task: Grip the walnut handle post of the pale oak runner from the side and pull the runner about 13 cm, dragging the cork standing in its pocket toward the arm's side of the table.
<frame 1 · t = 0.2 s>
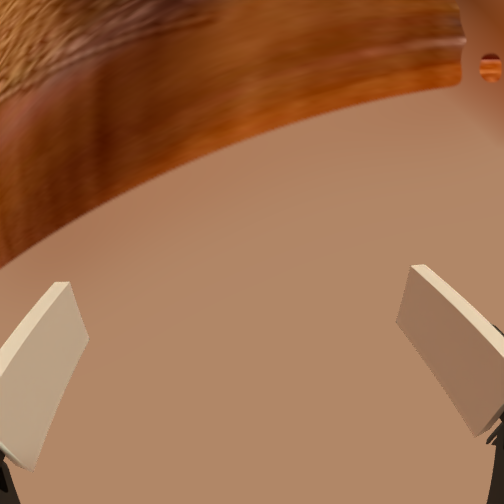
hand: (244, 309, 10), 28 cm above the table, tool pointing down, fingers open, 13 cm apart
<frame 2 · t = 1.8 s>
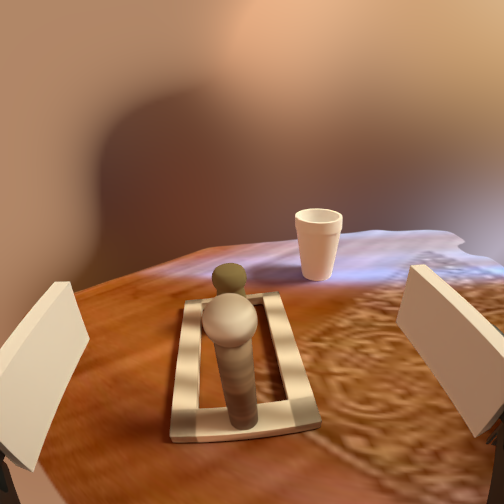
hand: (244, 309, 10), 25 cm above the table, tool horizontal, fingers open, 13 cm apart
cork: (234, 326, 48), resting in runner
foam cup: (316, 274, 62), on the table
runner: (231, 306, 37), point 9 cm above the table, slide at 0.0 cm
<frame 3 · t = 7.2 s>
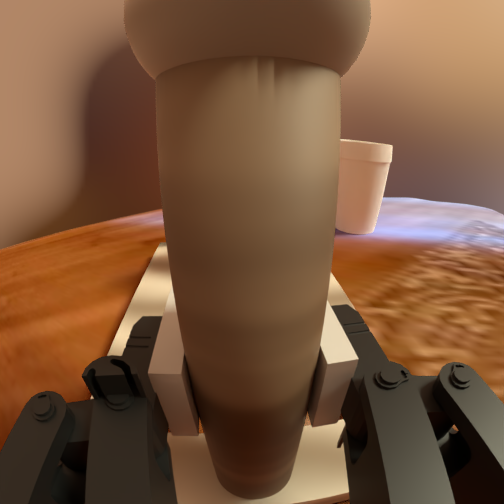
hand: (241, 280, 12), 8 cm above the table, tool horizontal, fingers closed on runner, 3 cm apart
foam cup: (354, 228, 43), on the table
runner: (235, 204, 18), point 10 cm above the table, slide at 0.0 cm, touching gripper
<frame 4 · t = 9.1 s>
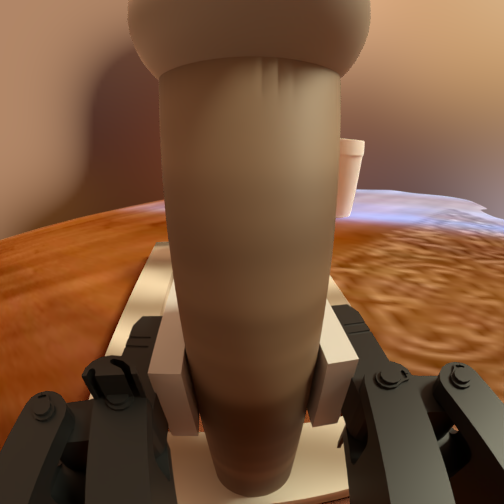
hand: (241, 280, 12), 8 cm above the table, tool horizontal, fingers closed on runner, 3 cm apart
foam cup: (332, 213, 50), on the table
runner: (231, 204, 18), point 10 cm above the table, slide at 7.5 cm, touching gripper
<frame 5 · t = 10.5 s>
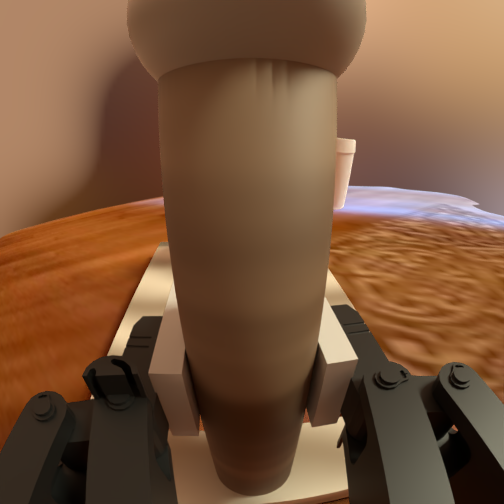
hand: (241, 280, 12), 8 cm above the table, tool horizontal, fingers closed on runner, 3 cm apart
foam cup: (327, 206, 55), on the table
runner: (234, 204, 18), point 10 cm above the table, slide at 12.8 cm, touching gripper, cork
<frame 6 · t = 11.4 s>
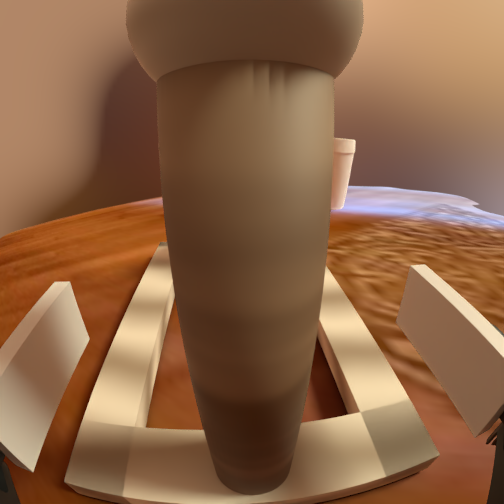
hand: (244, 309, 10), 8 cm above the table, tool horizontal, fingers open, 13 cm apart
foam cup: (327, 206, 55), on the table
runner: (234, 204, 18), point 9 cm above the table, slide at 12.8 cm
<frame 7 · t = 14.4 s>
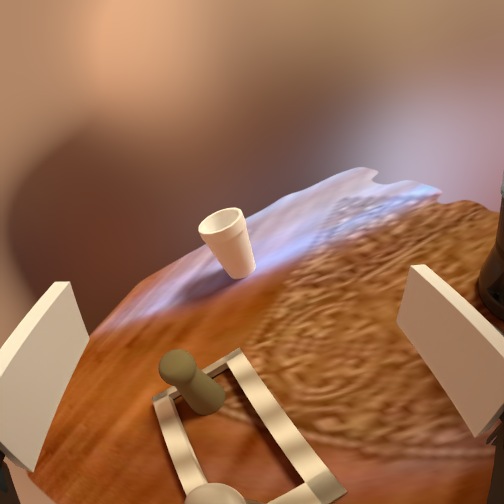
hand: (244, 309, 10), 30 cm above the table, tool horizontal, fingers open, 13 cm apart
cork: (207, 399, 41), resting in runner
foam cup: (242, 270, 65), on the table
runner: (201, 424, 28), point 9 cm above the table, slide at 12.8 cm
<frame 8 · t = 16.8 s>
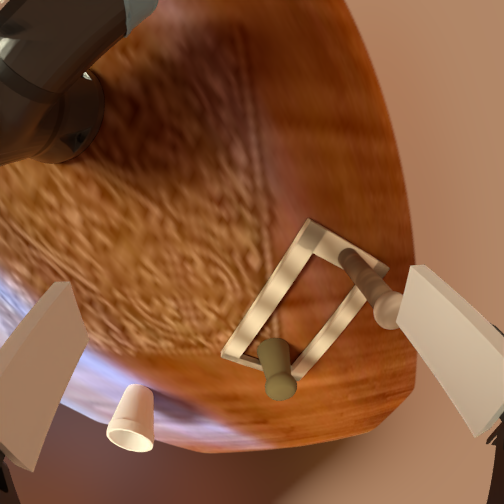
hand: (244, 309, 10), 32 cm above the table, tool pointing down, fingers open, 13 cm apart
cork: (273, 349, 53), resting in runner
foam cup: (140, 392, 55), on the table
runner: (317, 346, 41), point 10 cm above the table, slide at 12.8 cm
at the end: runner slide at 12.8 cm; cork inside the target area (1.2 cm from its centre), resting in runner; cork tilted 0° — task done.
